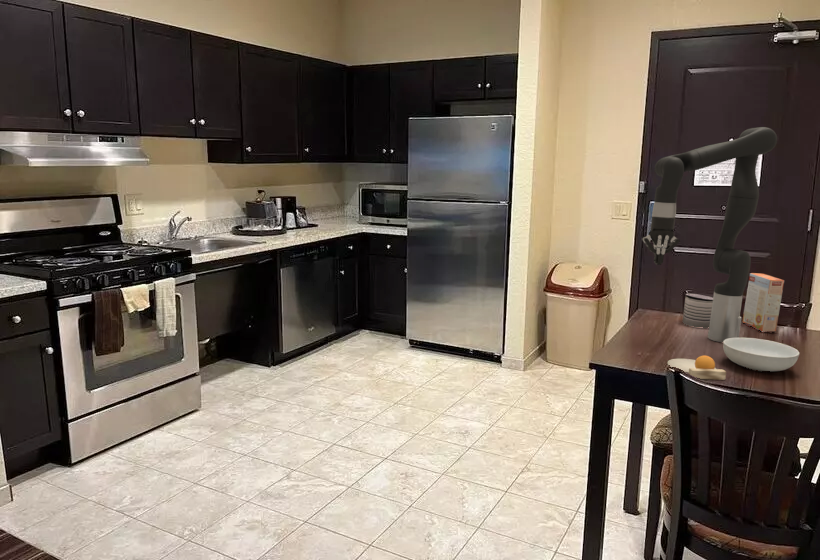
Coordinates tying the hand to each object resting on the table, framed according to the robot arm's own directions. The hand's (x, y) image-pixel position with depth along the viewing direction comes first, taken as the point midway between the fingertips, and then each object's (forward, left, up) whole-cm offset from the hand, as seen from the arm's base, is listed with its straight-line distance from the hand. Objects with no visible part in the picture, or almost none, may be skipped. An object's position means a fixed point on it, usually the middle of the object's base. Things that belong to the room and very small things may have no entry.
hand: (657, 264), depth 213 cm
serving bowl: (-28, +24, -27) cm, 46 cm away
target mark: (-7, +30, -27) cm, 41 cm away
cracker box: (-46, -27, -27) cm, 60 cm away
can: (-23, -25, -27) cm, 44 cm away
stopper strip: (-9, +40, -27) cm, 49 cm away
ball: (-9, +36, -24) cm, 44 cm away
